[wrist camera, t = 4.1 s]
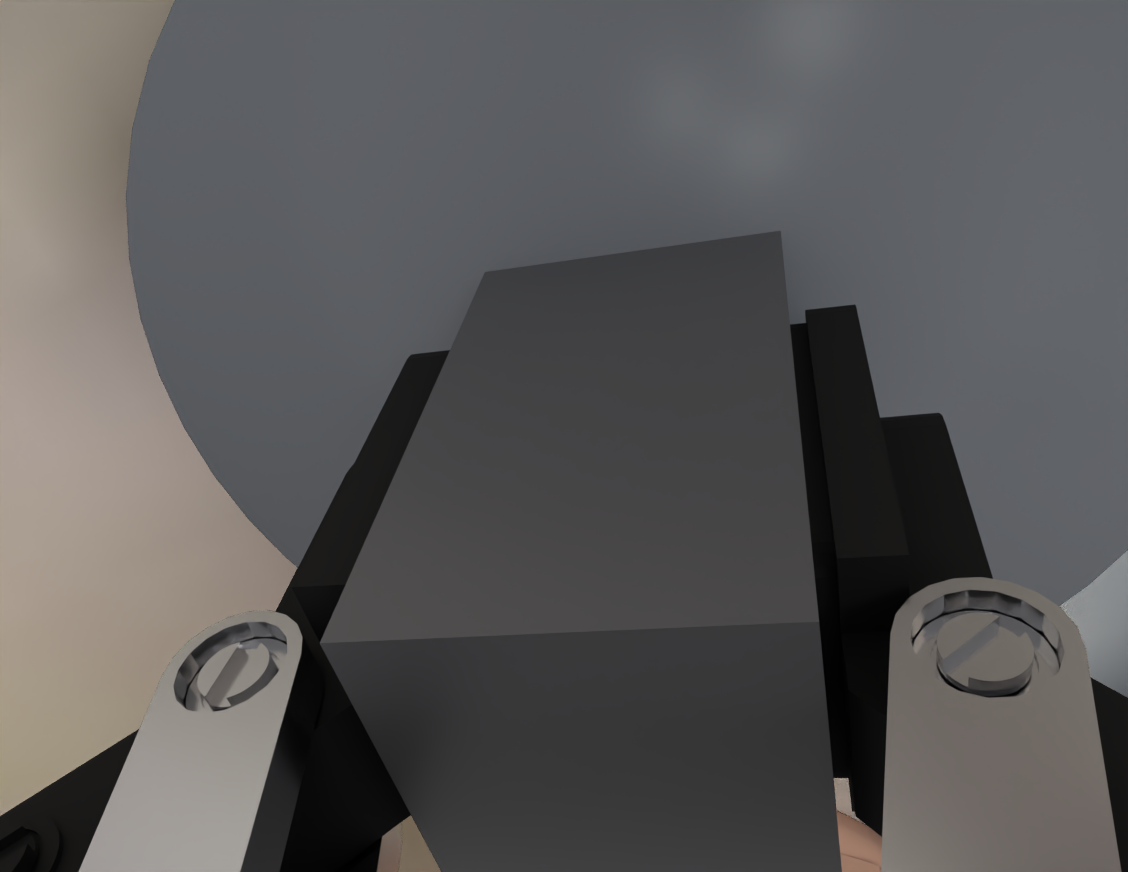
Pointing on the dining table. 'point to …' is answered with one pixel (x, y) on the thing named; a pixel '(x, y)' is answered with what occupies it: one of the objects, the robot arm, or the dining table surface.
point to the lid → (629, 361)
